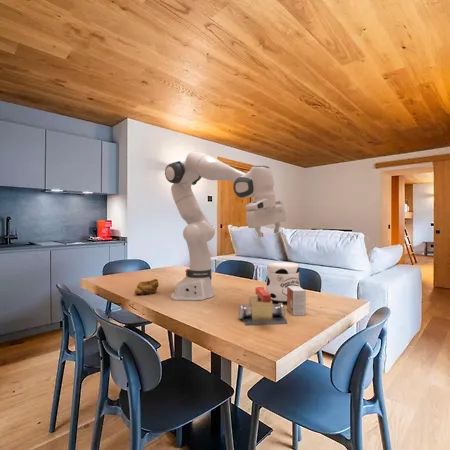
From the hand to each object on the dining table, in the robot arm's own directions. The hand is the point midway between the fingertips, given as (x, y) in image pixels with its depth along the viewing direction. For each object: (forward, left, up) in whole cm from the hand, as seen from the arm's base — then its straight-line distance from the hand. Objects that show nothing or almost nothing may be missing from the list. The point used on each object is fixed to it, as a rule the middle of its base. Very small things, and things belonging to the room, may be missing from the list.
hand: (268, 235), depth 120 cm
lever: (-6, -13, -23) cm, 27 cm away
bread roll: (-60, +39, -34) cm, 79 cm away
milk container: (+11, +17, -34) cm, 39 cm away
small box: (+11, -2, -34) cm, 35 cm away
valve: (-6, -8, -33) cm, 35 cm away
